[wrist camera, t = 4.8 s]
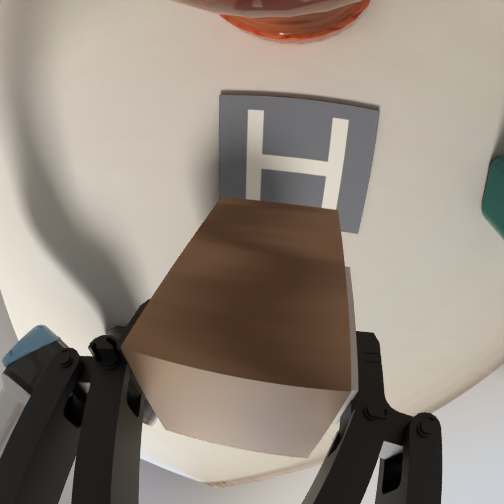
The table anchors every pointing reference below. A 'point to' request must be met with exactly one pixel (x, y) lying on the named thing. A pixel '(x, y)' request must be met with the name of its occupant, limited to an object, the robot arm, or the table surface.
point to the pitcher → (495, 196)
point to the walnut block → (250, 330)
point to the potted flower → (286, 17)
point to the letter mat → (297, 153)
